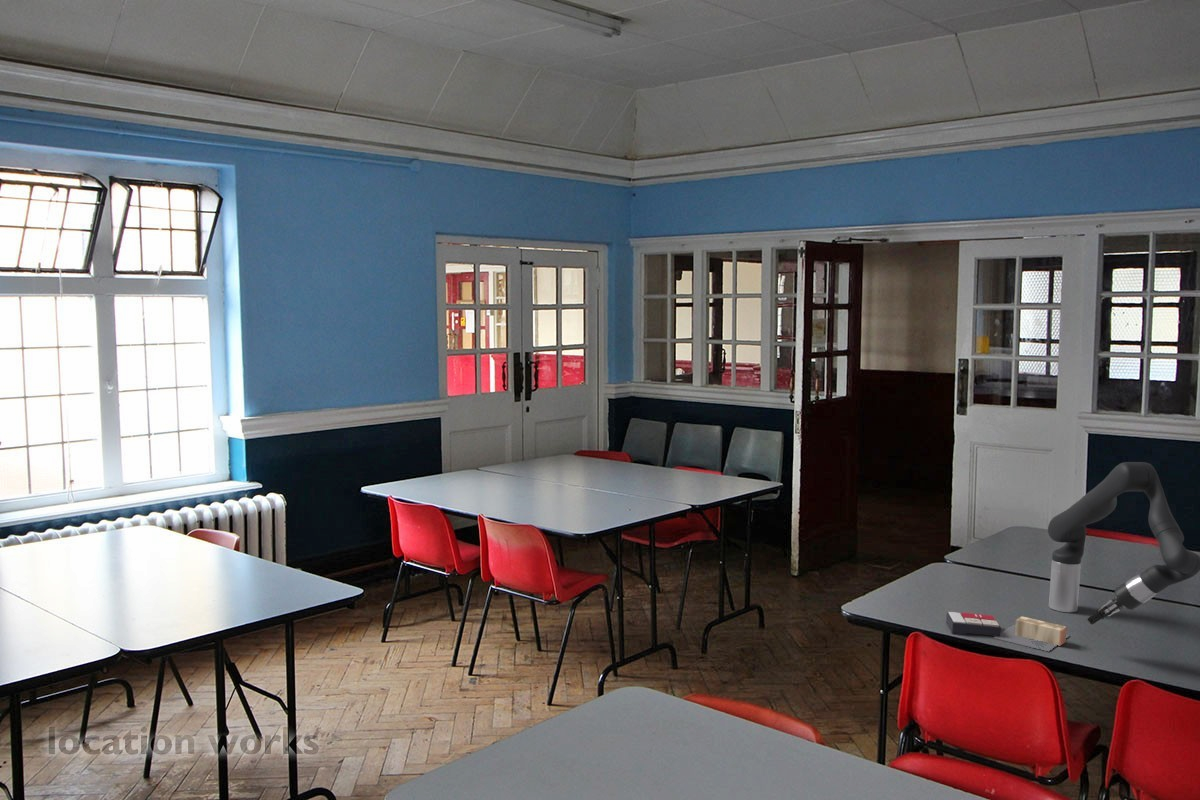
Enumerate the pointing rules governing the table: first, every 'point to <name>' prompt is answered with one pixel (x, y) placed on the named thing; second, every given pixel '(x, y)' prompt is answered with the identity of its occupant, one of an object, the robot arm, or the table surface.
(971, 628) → the red white grey box
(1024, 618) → the tall block
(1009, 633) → the mat
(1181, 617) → the table surface
